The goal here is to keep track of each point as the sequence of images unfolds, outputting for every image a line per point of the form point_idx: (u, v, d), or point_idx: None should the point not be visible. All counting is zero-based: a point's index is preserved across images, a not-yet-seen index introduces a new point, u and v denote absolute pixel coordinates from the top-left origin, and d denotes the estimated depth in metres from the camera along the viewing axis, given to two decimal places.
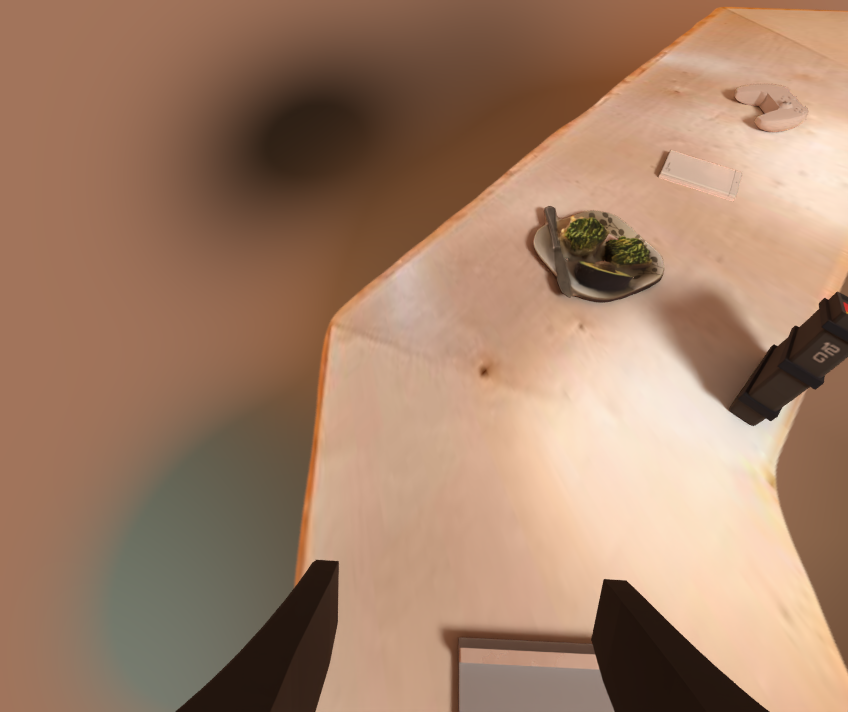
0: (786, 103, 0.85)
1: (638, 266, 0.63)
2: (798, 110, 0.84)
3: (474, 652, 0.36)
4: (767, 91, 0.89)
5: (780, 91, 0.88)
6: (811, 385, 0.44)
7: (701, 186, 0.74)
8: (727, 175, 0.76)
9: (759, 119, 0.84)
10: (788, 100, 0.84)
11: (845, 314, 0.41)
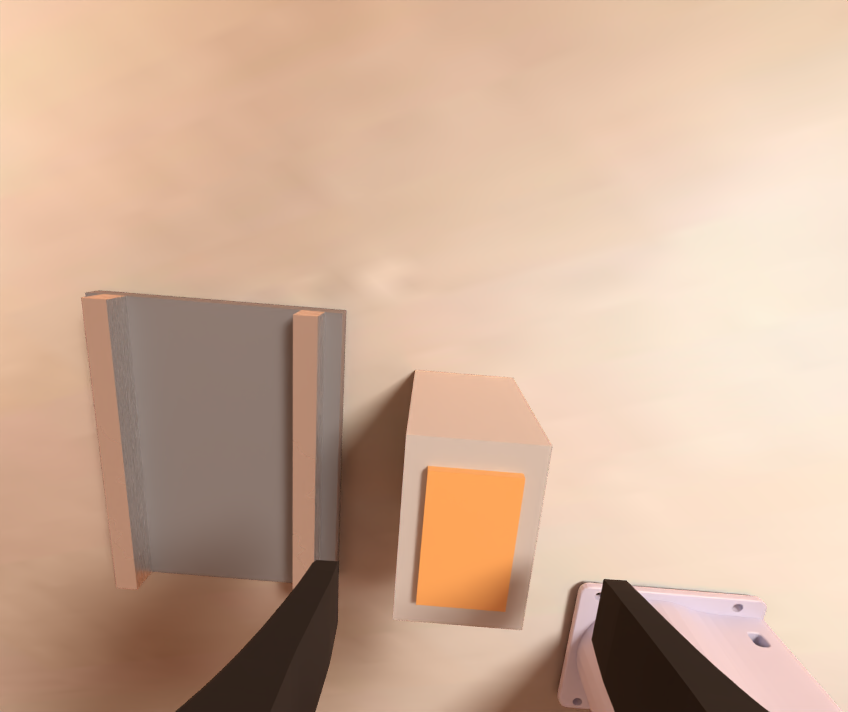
0: None
1: None
2: None
3: (118, 568, 0.21)
4: None
5: None
6: None
7: None
8: None
9: None
10: None
11: None
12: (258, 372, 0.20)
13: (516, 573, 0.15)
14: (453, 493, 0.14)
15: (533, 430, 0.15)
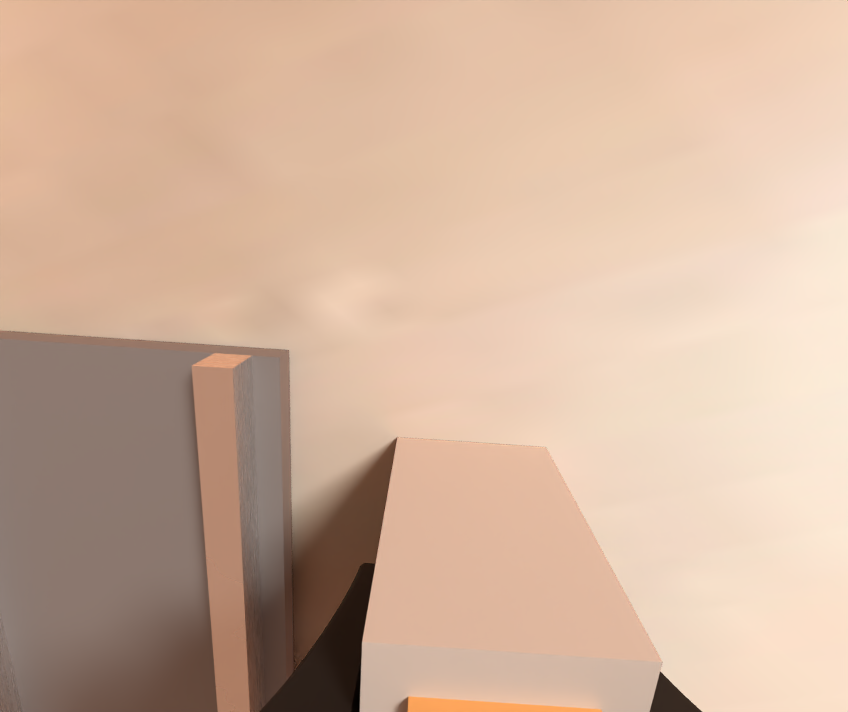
0: None
1: None
2: None
3: None
4: None
5: None
6: None
7: None
8: None
9: None
10: None
11: None
12: (155, 448, 0.13)
13: None
14: None
15: (611, 603, 0.08)
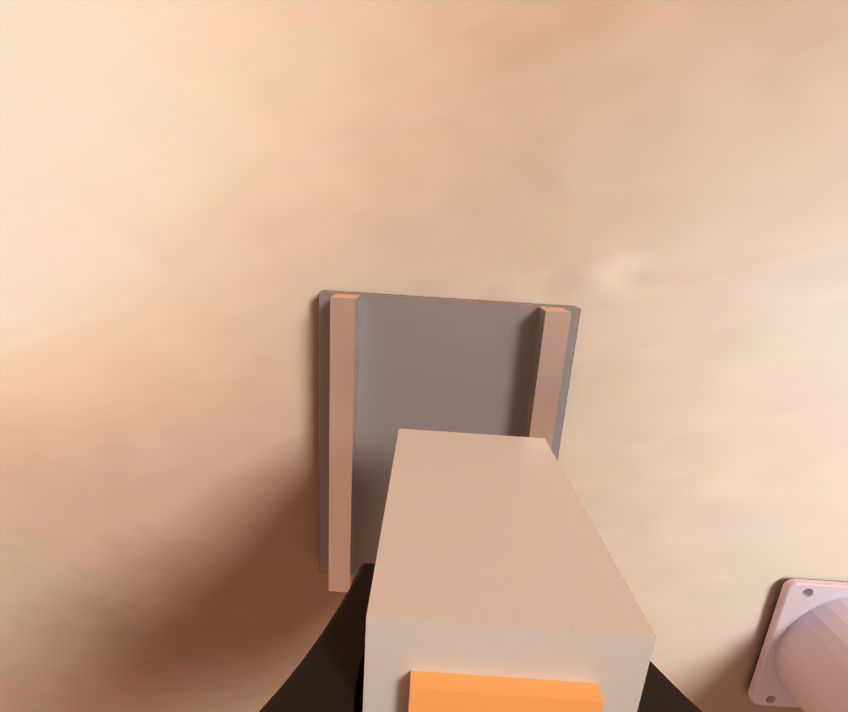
0: None
1: None
2: None
3: (333, 571, 0.21)
4: None
5: None
6: None
7: None
8: None
9: None
10: None
11: None
12: (487, 370, 0.19)
13: None
14: None
15: (607, 582, 0.08)
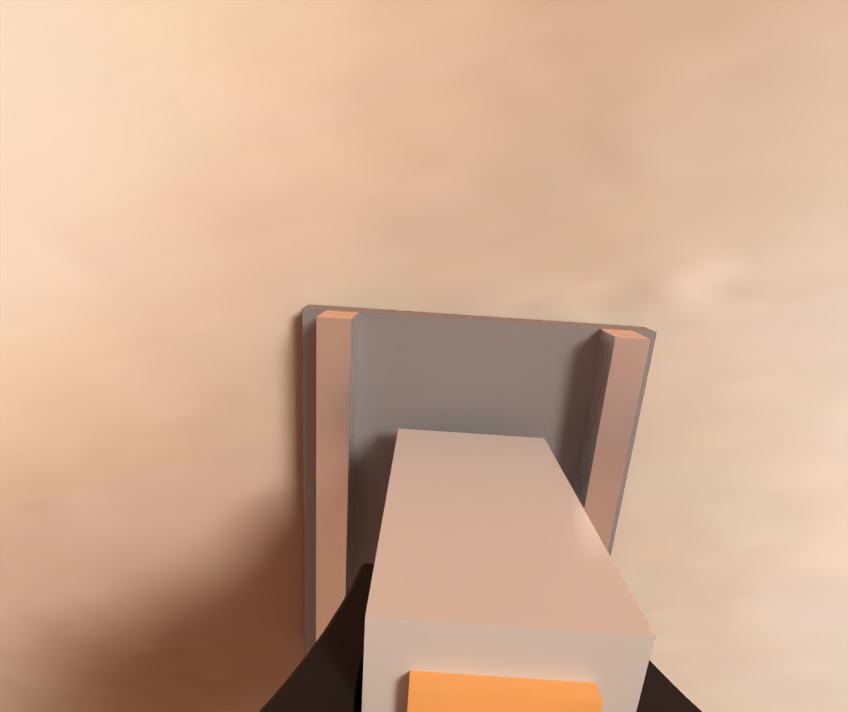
0: None
1: None
2: None
3: None
4: None
5: None
6: None
7: None
8: None
9: None
10: None
11: None
12: (527, 412, 0.14)
13: None
14: None
15: (606, 582, 0.08)
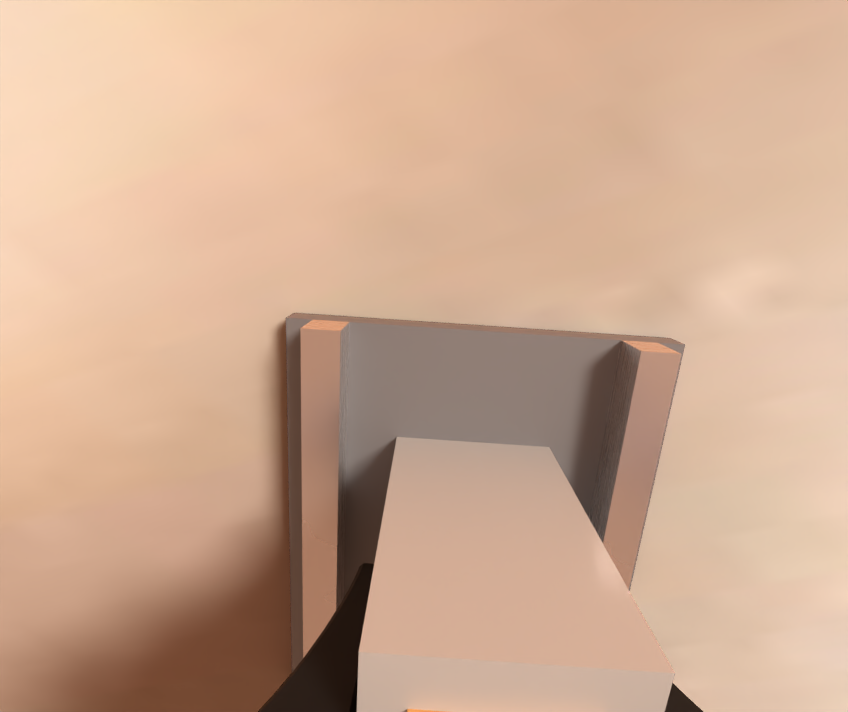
0: None
1: None
2: None
3: None
4: None
5: None
6: None
7: None
8: None
9: None
10: None
11: None
12: (539, 434, 0.13)
13: None
14: None
15: (619, 609, 0.07)
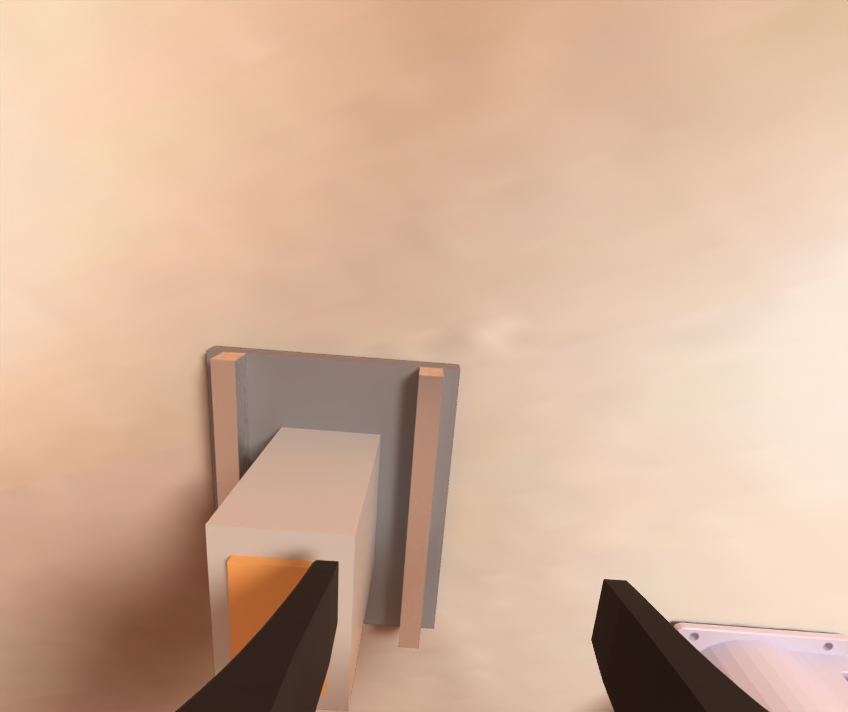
0: None
1: None
2: None
3: None
4: None
5: None
6: None
7: None
8: None
9: None
10: None
11: None
12: (373, 426, 0.20)
13: (335, 657, 0.15)
14: (256, 583, 0.13)
15: (350, 513, 0.14)
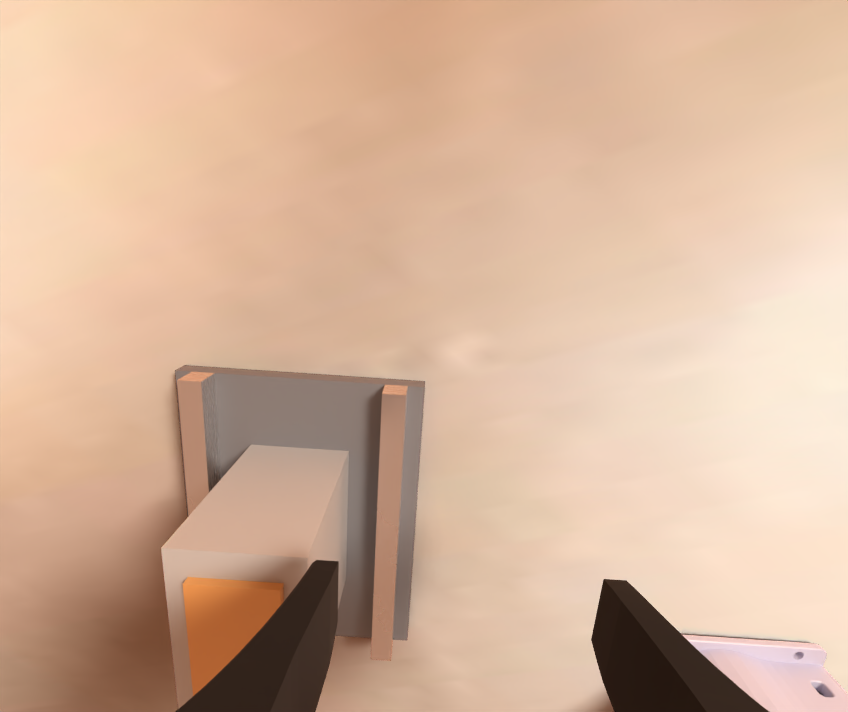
0: None
1: None
2: None
3: None
4: None
5: None
6: None
7: None
8: None
9: None
10: None
11: None
12: (341, 442, 0.20)
13: None
14: (211, 604, 0.14)
15: (305, 534, 0.15)
